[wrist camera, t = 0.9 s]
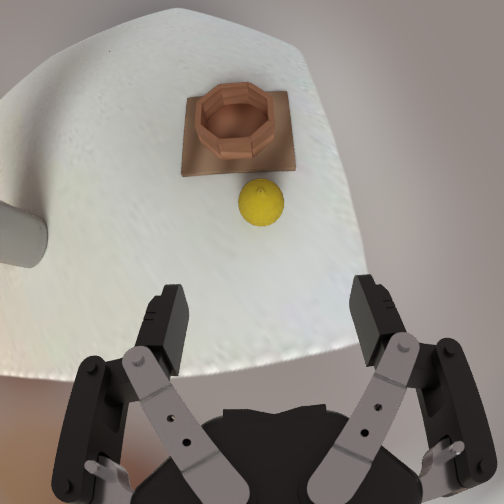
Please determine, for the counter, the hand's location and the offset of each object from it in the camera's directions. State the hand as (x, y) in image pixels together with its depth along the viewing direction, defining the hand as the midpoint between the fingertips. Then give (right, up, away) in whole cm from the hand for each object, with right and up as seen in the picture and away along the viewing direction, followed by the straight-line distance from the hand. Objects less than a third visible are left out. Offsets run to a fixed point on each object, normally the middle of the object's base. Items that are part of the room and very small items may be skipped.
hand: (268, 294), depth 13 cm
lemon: (0, +7, +26) cm, 27 cm away
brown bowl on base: (-3, +20, +28) cm, 35 cm away
